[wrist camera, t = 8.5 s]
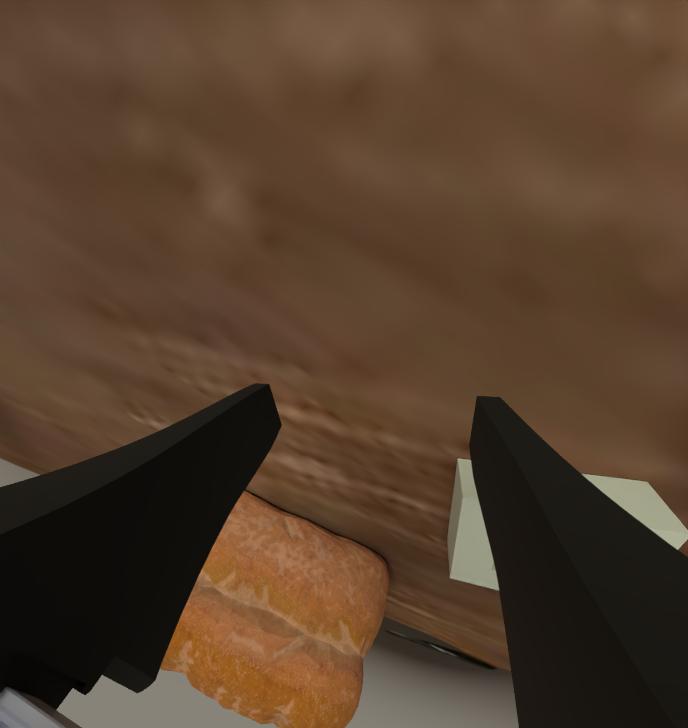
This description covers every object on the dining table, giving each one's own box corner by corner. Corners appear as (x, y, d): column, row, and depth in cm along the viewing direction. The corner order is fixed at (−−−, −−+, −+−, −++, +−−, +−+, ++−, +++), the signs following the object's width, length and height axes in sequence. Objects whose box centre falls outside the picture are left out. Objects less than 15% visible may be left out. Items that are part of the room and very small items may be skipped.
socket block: (647, 481, 17) (691, 534, 15) (588, 568, 23) (612, 619, 20) (457, 458, 21) (462, 497, 18) (447, 538, 27) (449, 578, 24)
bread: (366, 589, 38) (337, 773, 26) (213, 515, 40) (116, 652, 28) (402, 555, 31) (386, 790, 18) (213, 468, 33) (80, 624, 20)
